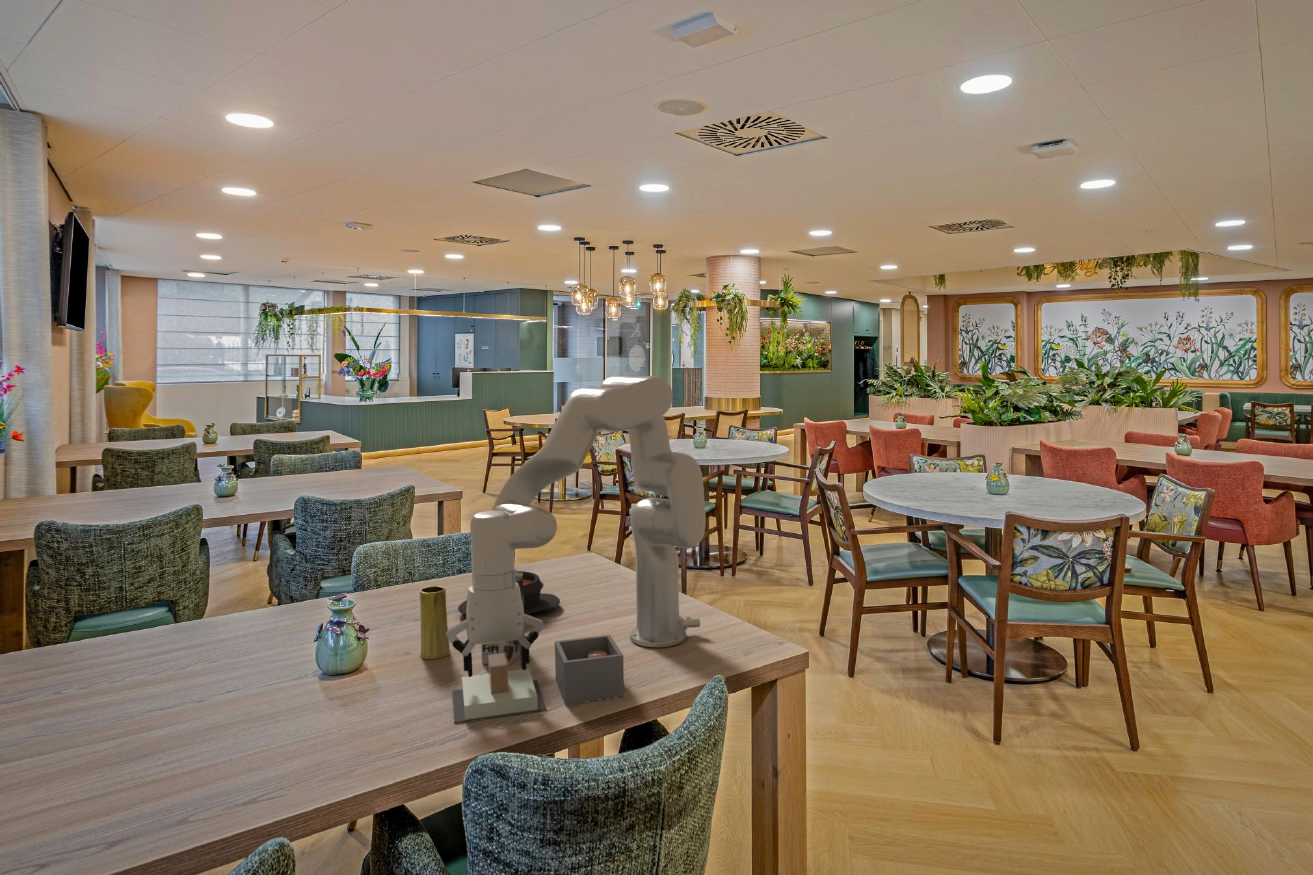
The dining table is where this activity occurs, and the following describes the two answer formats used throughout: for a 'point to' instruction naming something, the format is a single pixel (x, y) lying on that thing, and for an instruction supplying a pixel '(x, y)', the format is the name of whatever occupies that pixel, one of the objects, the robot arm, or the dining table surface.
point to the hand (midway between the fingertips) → (497, 670)
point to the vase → (433, 623)
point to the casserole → (530, 596)
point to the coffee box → (509, 647)
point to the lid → (498, 691)
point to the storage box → (589, 669)
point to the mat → (460, 716)
